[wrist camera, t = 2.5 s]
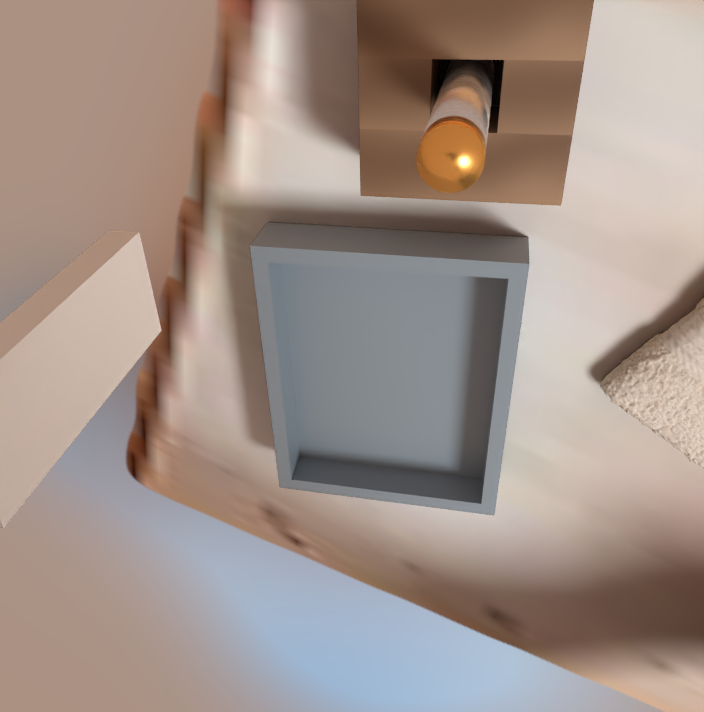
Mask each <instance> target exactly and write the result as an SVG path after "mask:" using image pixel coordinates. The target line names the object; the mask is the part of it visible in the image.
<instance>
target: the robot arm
mask: <svg viewBox="0 0 704 712" xmlns="http://www.w3.org/2000/svg"><path fill="white" fill-rule="evenodd" d="M160 332H161V326H160V322H159V317H158V313H157V309H156V304H155V300H154V295H153V291H152V287H151V282H150V277H149V273H148V269H147V264H146V260H145V255H144V251H143V246H142V242H141V238H140V233H139V232H131V231H115V230H109V231H108V232H107V233H105V234H104V235H103V236H102V237H101V238H100V239H98V240H97V241H96V242H95V243H94V244H92V245H91V246H90V247H89V248H88V249H86V250H85V251H84V252H83V253H82V254H81V255H79V256H78V257H77V258H76V259H75V260H73V261H72V262H71V263H70V264H69V265H68V266H66V267H65V268H64V269H63V270H62V271H61V272H59V273H58V274H57V275H56V276H55V277H53V278H52V279H51V280H50V281H49V282H48V283H46V284H45V285H44V286H43V287H42V288H40V289H39V290H38V291H37V292H36V293H34V294H33V295H32V296H31V297H30V298H29V299H27V300H26V301H25V302H24V303H23V304H22V305H20V306H19V307H18V308H17V309H16V310H14V311H13V312H12V313H11V314H10V315H8V316H7V317H6V318H5V319H4V320H3V321H1V322H0V528H4V527H5V526H6V525H7V524H8V523H9V521H10V520H11V518H12V517H13V516H14V515H15V513H16V512H17V511H18V510H19V509H20V507H21V506H22V505H23V504H24V502H25V501H26V500H27V499H28V497H29V496H30V495H31V494H32V492H33V491H34V490H35V489H36V487H37V486H38V485H39V484H40V482H41V481H42V480H43V478H44V477H45V476H46V475H47V474H48V472H49V471H50V470H51V469H52V467H53V466H54V465H55V464H56V462H57V461H58V460H59V458H60V457H61V456H62V455H63V453H64V452H65V451H66V450H67V448H68V447H69V446H70V444H71V443H72V442H73V441H74V440H75V438H76V437H77V436H78V435H79V433H80V432H81V431H82V430H83V428H84V427H85V426H86V424H87V423H88V422H89V421H90V420H91V418H92V417H93V416H94V414H95V413H96V412H97V411H98V409H99V408H100V407H101V406H102V404H103V403H104V402H105V401H106V399H107V398H108V397H109V396H110V394H111V393H112V392H113V391H114V389H115V388H116V387H117V385H118V384H119V383H120V382H121V381H122V379H123V378H124V377H125V376H126V374H127V373H128V372H129V371H130V369H131V368H132V367H133V366H134V364H135V363H136V362H137V361H138V359H139V358H140V357H141V356H142V354H143V353H144V352H145V351H146V349H147V348H148V347H149V345H150V344H151V343H152V342H153V340H154V339H155V338H156V337H157V335H158V334H159V333H160Z"/></svg>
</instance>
